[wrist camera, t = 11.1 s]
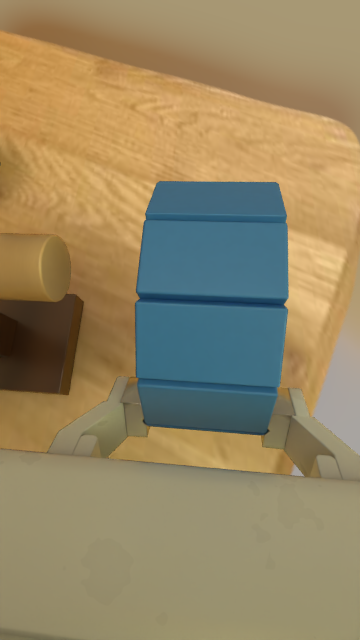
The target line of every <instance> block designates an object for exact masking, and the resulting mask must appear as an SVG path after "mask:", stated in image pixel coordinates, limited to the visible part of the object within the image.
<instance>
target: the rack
mask: <svg viewBox="0 0 360 640" xmlns="http://www.w3.org/2000/svg"><path fill="white" fill-rule="evenodd" d="M70 278H71V262H70V256H69V252H68V249H67V246H66V244H65V242H64V241H63V240H62V239H61V238H60V237H59V236H57V235H49V234H13V233H0V390H8V391H21V392H35V393H48V394H61V395H68V394H69V389H70V383H71V377H72V370H73V364H74V358H75V352H76V345H77V339H78V333H79V327H80V320H81V314H82V308H83V300H81V299H80V298H79V297H78V296H77V295H76V294H66V293H67V290H68V288H69V284H70Z"/></svg>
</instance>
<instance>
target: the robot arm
mask: <svg viewBox="0 0 360 640" xmlns="http://www.w3.org/2000/svg"><path fill="white" fill-rule="evenodd" d="M137 382H138V378H137V377H125V376H119V377H117V379H116V381H115V383H114V386H113V388H112V390H111V393H110V395H109V397H108V400H107V402H106V401H103V402H102V403H100V404H99V405H97V406H96V407H94V408H93V409H91V410H90V411H88V412H87V413H85V414H84V415H82V416H81V417H79V418H78V419H76V420H75V421H73V422H72V423H70V424H69V425H67V426H66V427H64V428H63V429H61V430H60V431H59V432H58V433H57V435H56V437H55V439H54V441H53V443H52V444H51V446H50V448H49V450H48V452H47V453H43V452H33V451H22V450H11V449H0V640H360V456H359V455H358V454H357V453H356V452H354V451H353V450H352V449H351V448H350V447H349V446H347V445H346V444H345V443H344V442H343V441H341V440H340V439H339V438H338V437H337V436H336V435H334V434H333V433H332V432H331V431H330V430H328V429H327V428H326V427H325V426H324V425H323V424H321V423H320V422H319V421H318V420H317V419H315V418H314V417H310V415H309V412H308V408H307V405H306V402H305V399H304V396H303V393H302V390H301V389H300V388H282V387H277V390H278V396H277V400H276V403H275V406H274V409H273V413H272V416H271V419H270V422H269V426H268V429H267V432H266V433H265V435H261V440H262V447H266V448H275V449H284V451H285V452H286V453H287V455H288V456H289V457H290V458H291V460H292V461H293V462H294V464H295V465H296V466H297V467H298V468H299V470H300V471H301V472H302V474H303V475H304V476H305V477H303V476H292V475H282V474H271V473H260V472H250V471H239V470H228V469H217V468H206V467H195V466H185V465H174V464H163V463H152V462H141V461H130V460H119V459H108V458H107V457H108V456H109V455H110V454H111V453H112V452H113V451H114V450H115V449H116V448H117V447H118V446H119V445H120V444H121V443H122V442H123V441H124V440H125V439H126V438H127V436H133V437H148V433H149V429H150V426H147V425H146V423H145V421H144V416H143V411H142V407H141V402H140V397H139V393H138V388H137Z"/></svg>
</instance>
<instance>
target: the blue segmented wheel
mask: <svg viewBox="0 0 360 640" xmlns="http://www.w3.org/2000/svg"><path fill="white" fill-rule="evenodd" d="M145 215H146V220H145V221H144V226H143V234H142V243H141V252H140V260H139V269H138V277H137V286H136V293H137V294H138V296H139V298H140V299H139V300H138V301H136V303H135V338H136V377H137V378H138V382H137V388H138V393H139V397H140V402H141V407H142V411H143V416H144V421H145V423H146V425H147V426H153V427H165V428H177V429H190V430H202V431H214V432H226V433H238V434H251V435H265V433H266V432H267V429H268V426H269V422H270V419H271V416H272V413H273V409H274V406H275V403H276V400H277V396H278V390H277V387H279V386H280V380H281V371H282V361H283V352H284V342H285V333H286V324H287V314H288V309H287V308H286V307H285V306H284V303H285V302H286V301H287V299H288V228H287V223H286V218H287V215H286V211H285V207H284V203H283V199H282V195H281V192H280V188H279V184H277V183H276V182H179V181H160V182H159V183H157V184H156V187H155V189H154V192H153V195H152V197H151V200H150V203H149V205H148V208H147V210H146V213H145Z"/></svg>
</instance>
